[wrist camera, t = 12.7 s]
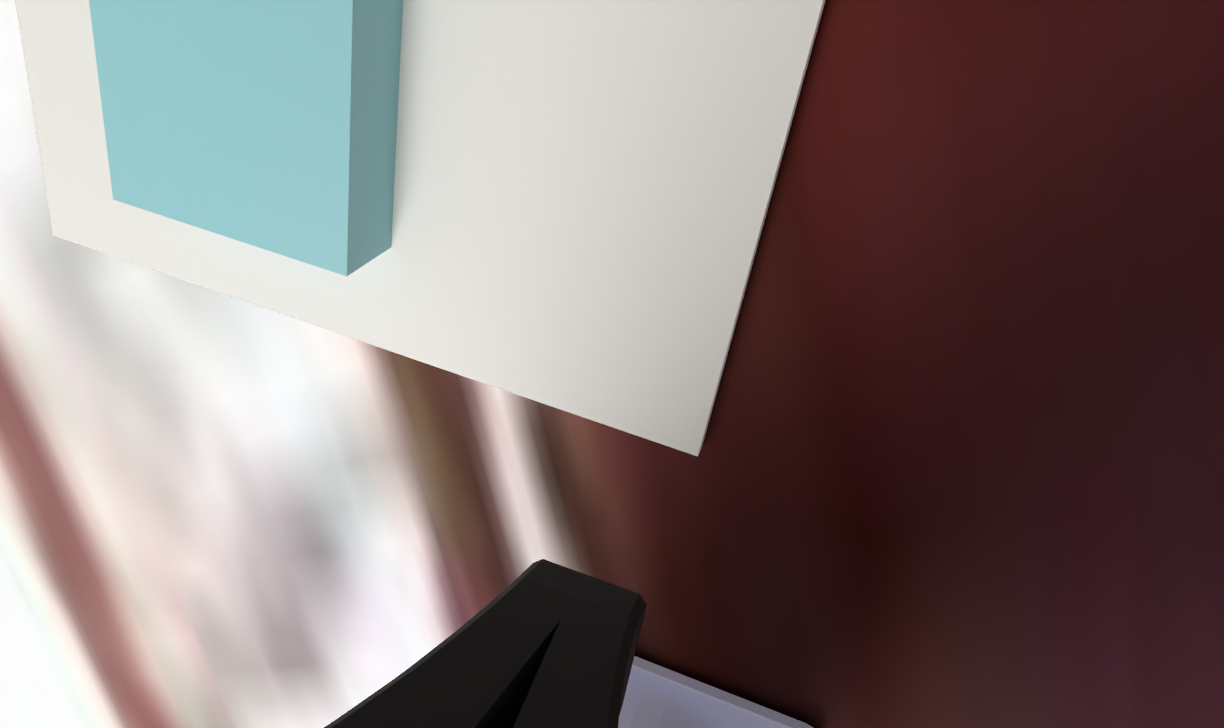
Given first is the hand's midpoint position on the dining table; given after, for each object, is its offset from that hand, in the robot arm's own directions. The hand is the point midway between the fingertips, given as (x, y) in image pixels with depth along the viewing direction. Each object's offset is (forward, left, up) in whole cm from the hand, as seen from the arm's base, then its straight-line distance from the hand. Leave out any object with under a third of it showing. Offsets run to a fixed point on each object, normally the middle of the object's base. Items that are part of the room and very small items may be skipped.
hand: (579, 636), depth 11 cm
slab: (+3, +8, -9) cm, 12 cm away
